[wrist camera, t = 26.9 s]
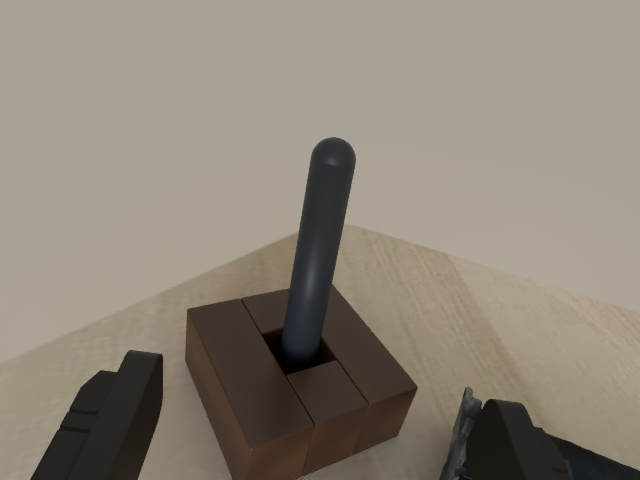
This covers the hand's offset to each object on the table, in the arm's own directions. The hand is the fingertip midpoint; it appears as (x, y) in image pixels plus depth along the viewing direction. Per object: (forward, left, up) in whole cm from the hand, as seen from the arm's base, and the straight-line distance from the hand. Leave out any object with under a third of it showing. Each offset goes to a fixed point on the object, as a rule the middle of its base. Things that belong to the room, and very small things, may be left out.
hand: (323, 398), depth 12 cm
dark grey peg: (+4, +7, -10) cm, 13 cm away
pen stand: (+4, +7, -10) cm, 13 cm away
